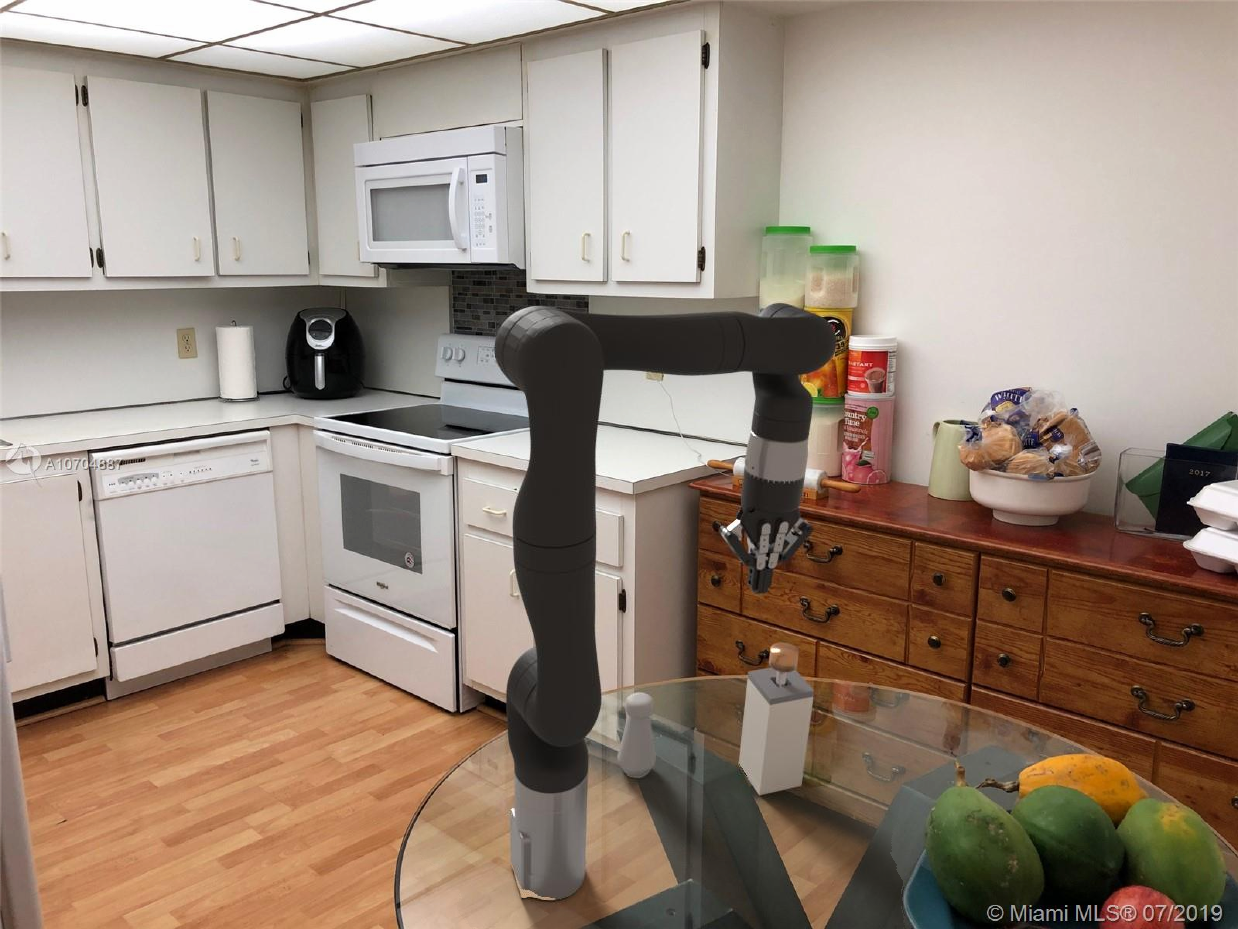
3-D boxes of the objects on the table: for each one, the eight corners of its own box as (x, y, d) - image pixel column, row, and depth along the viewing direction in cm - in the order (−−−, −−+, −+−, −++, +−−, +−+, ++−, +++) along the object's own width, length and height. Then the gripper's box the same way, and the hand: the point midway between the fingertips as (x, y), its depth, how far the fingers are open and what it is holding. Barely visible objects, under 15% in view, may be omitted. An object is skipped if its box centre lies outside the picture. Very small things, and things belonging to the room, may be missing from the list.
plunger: (766, 761, 143) (778, 660, 136) (752, 742, 147) (763, 644, 140) (792, 755, 144) (805, 656, 138) (778, 737, 148) (790, 639, 142)
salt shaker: (651, 786, 144) (656, 713, 139) (613, 779, 145) (616, 707, 140) (657, 760, 150) (662, 690, 145) (621, 754, 151) (624, 684, 146)
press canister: (759, 795, 143) (770, 699, 137) (738, 765, 149) (748, 671, 143) (801, 786, 145) (814, 691, 139) (779, 756, 152) (790, 664, 145)
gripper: (740, 482, 115) (725, 611, 121) (837, 475, 119) (817, 599, 126) (713, 460, 121) (700, 582, 128) (806, 453, 126) (788, 572, 132)
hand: (758, 590), depth 127 cm, fingers closed
